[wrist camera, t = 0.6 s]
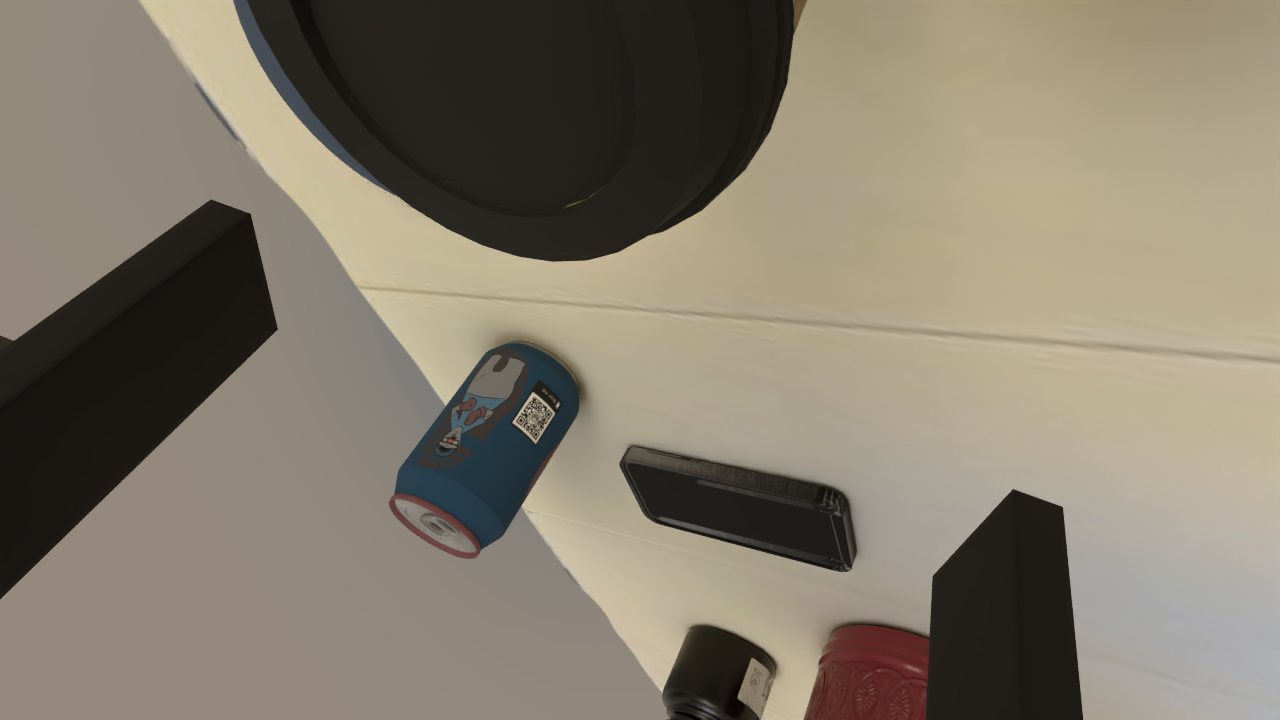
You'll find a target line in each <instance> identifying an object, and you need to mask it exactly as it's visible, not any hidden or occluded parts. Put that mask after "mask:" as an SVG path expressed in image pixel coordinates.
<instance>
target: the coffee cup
mask: <svg viewBox="0 0 1280 720" xmlns="http://www.w3.org/2000/svg"><path fill="white" fill-rule="evenodd" d="M247 2H248V5H249V7H250V9H251V11H252V14H253V16H254V18H255V20H256V23H257V25H258V27H259V30H260V31H261V33H262V35H263V37H264V38H265V40H266V42H267V44H268V45H269V47H270V49H271V51H272V52H273V54H274V56H275V58H276V59H277V61H278V63H279V64H280V66H281V68H282V70H283V71H284V73H285V75H286V76H287V78H288V79H289V80H290V82H291V83H292V84H293V86H294V87H295V89H296V90H297V91H298V93H299V94H300V96H301V97H302V98H303V100H304V101H305V103H306V104H307V105H308V107H309V108H310V110H311V111H312V112H313V114H314V115H315V116H316V117H317V118H318V119H319V121H320V122H321V123H322V124H323V125H324V126H325V127H326V129H327V130H328V131H329V132H330V133H331V134H332V135H333V137H334V138H335V139H336V140H337V141H338V142H339V143H340V145H341V146H342V147H343V148H344V149H345V150H346V151H347V152H348V153H349V154H350V155H351V156H352V157H353V158H354V159H355V160H356V161H357V162H359V163H360V164H361V165H362V166H363V167H364V168H365V169H366V170H367V171H368V172H369V173H370V174H371V175H372V176H373V177H374V178H376V179H377V180H378V181H379V182H380V183H381V184H383V185H384V186H385V187H387V188H388V189H389V190H391V191H392V192H393V193H394V194H396V195H397V196H398V197H400V198H401V199H402V200H403V201H405V202H406V203H407V204H409V205H410V206H411V207H413V208H414V209H416V210H418V211H419V212H421V213H422V214H424V215H426V216H427V217H429V218H431V219H432V220H434V221H435V222H437V223H439V224H440V225H442V226H444V227H445V228H447V229H449V230H451V231H453V232H455V233H457V234H460V235H462V236H464V237H466V238H468V239H470V240H472V241H475V242H477V243H479V244H481V245H483V246H487V247H490V248H493V249H496V250H499V251H503V252H506V253H509V254H512V255H515V256H519V257H526V258H532V259H539V260H546V261H552V262H555V261H584V260H590V259H594V258H598V257H602V256H605V255H609V254H613V253H617V252H619V251H621V250H623V249H625V248H627V247H628V246H630V245H632V244H634V243H636V242H637V241H639V240H641V239H643V238H645V237H647V236H648V235H652V234H656V233H660V232H663V231H665V230H667V229H669V228H671V227H673V226H674V225H676V224H678V223H680V222H682V221H684V220H685V219H687V218H689V217H691V216H693V215H695V214H696V213H698V212H700V211H702V210H703V209H704V208H705V207H706V206H707V205H708V204H709V203H710V202H711V201H713V200H714V199H715V198H716V197H717V196H718V195H719V194H720V193H721V192H722V191H723V190H724V189H725V188H727V187H728V186H729V185H730V184H731V183H732V182H733V181H734V180H735V179H736V178H737V177H738V176H739V175H740V174H742V172H743V171H744V170H745V169H746V168H747V166H748V165H749V163H750V162H751V160H752V159H753V157H754V155H755V154H756V152H757V151H758V149H759V148H760V146H761V145H762V143H763V142H764V140H765V138H766V137H767V135H768V134H769V132H770V130H771V127H772V124H773V122H774V119H775V116H776V113H777V110H778V107H779V105H780V102H781V99H782V96H783V93H784V91H785V88H786V85H787V81H788V73H789V65H790V58H791V50H792V42H793V35H794V33H795V30H796V28H797V25H798V22H799V20H800V17H801V15H802V12H803V9H804V7H805V4H806V2H807V0H247Z"/></svg>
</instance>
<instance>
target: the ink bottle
mask: <svg viewBox="0 0 1280 720" xmlns="http://www.w3.org/2000/svg"><path fill="white" fill-rule="evenodd" d="M775 675H776V669H775V666H774V664H773V662H772V661H771V659H770V658H769V657H768V656H767V655H765V654H764V653H763V652H762V651H760V650H759V649H757V648H756V647H754V646H752V645H751V644H749V643H747V642H745V641H743V640H741V639H739V638H737V637H735V636H733V635H730V634H728V633H725V632H722V631H720V630H716V629H713V628H708V627H696V628H693V629H691V630H690V631H689V632H688V633H687V635H686V637H685V639H684V642H683V644H682V647H681V649H680V651H679V654H678V656H677V658H676V661H675V663H674V666H673V668H672V670H671V673H670V675H669V678H668V680H667V682H666V685H665V687H664V690H663V694H662V697H663V702H664V705H665V707H666V708H667V714H668V716H669V718H670V719H668V720H761V717H762V714H763V711H764V709H765V706H766V703H767V700H768V697H769V694H770V691H771V688H772V685H773V682H774V679H775Z"/></svg>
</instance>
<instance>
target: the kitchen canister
mask: <svg viewBox="0 0 1280 720" xmlns="http://www.w3.org/2000/svg"><path fill="white" fill-rule="evenodd" d="M928 660H929V639H926V638H924V637H921V636H918V635H915V634H912V633H908V632H905V631H901V630H897V629H892V628H887V627H881V626H873V625H851V626H846V627H842V628H839V629H837V630H836V631H834V632H833V633H832V634H831V636H830V639H829V641H828V643H827V644H826V645H825V647H824V648H823V650H822V653H821V658H820V659H819V662H818V674H817V677H816V681H815V684H814V687H813V691H812V694H811V697H810V700H809V704H808V707H807V710H806V713H805V717H804V720H925V718H926V699H927V679H928Z"/></svg>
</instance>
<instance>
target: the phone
mask: <svg viewBox="0 0 1280 720" xmlns="http://www.w3.org/2000/svg"><path fill="white" fill-rule="evenodd" d="M619 465H620V468H621V470H622V472H623V474H624V476H625V478H626V480H627V482H628V484H629V486H630V488H631V490H632V492H633V494H634V496H635V498H636V500H637V502H638V504H639V506H640V508H641V510H642V512H643V513H644V515H645V516H646V517H647V518H649V519H650V520H652V521H653V522H655V523H658V524H661V525H664V526H668V527H672V528H675V529H679V530H683V531H687V532H691V533H694V534H698V535H702V536H706V537H709V538H713V539H717V540H721V541H725V542H728V543H732V544H736V545H740V546H743V547H747V548H751V549H755V550H758V551H762V552H766V553H770V554H774V555H777V556H781V557H785V558H789V559H792V560H796V561H800V562H804V563H807V564H811V565H815V566H819V567H823V568H826V569H830V570H834V571H839V572H848V571H850V570H851V569H852V566H853V563H854V559H855V556H856V546H855V540H854V534H853V528H852V522H851V516H850V510H849V504H848V501H847V499H846V498H845V497H844V496H843V495H842V494H840V493H839V492H837V491H835V490H833V489H829V488H826V487H821V486H817V485H812V484H807V483H803V482H798V481H793V480H788V479H784V478H779V477H774V476H770V475H765V474H760V473H756V472H751V471H746V470H742V469H737V468H732V467H727V466H723V465H718V464H713V463H709V462H704V461H699V460H695V459H690V458H685V457H680V456H676V455H671V454H666V453H662V452H657V451H652V450H647V449H643V448H638V447H629V448H628V449H627V450H626V452H625V454H624V456H623V457H622V459H621V461H620V464H619Z"/></svg>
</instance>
